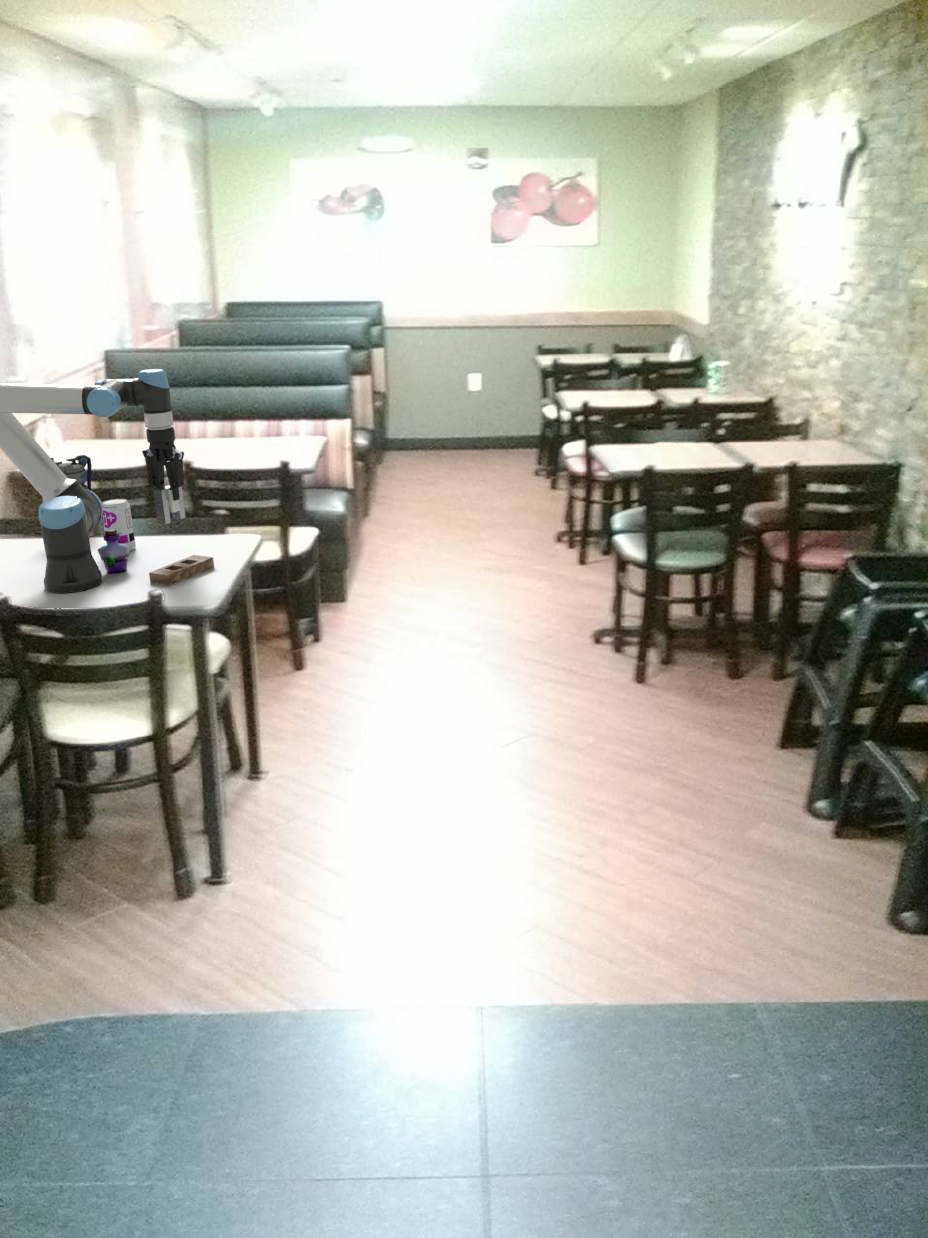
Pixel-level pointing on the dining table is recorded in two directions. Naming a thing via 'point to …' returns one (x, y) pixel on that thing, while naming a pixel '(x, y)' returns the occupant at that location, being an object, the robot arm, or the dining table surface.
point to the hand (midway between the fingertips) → (170, 510)
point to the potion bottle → (114, 553)
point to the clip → (163, 507)
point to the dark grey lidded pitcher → (77, 470)
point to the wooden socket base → (181, 570)
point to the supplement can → (119, 520)
